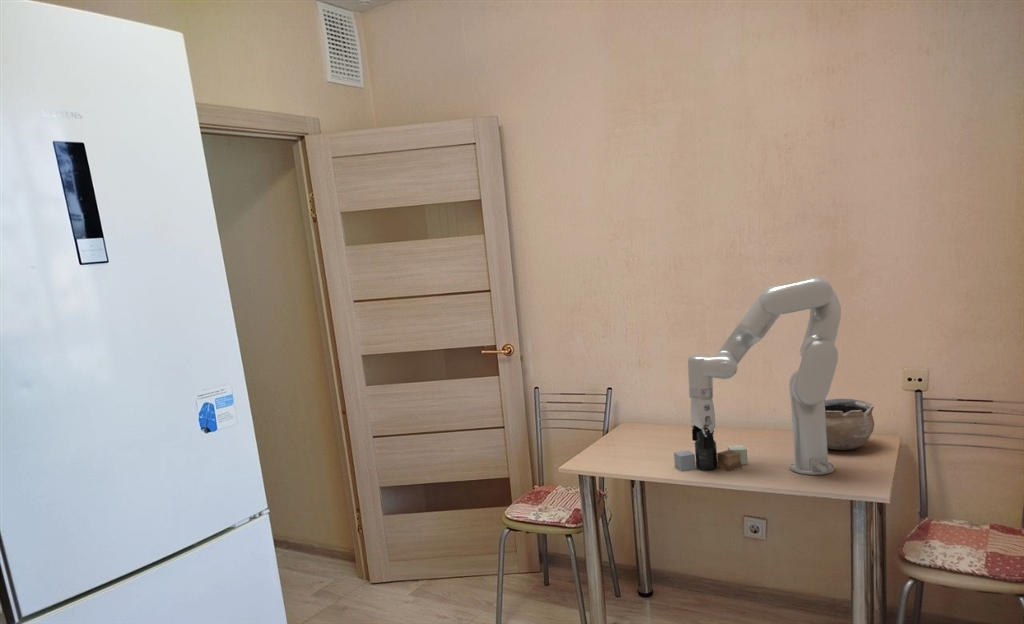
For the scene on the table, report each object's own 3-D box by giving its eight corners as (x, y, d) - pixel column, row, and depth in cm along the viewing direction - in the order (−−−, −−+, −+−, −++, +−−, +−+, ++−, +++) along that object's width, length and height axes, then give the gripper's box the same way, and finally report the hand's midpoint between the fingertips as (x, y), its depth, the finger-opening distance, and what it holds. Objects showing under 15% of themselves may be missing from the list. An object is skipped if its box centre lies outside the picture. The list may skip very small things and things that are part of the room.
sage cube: (747, 464, 210) (746, 449, 210) (732, 465, 211) (731, 450, 210) (743, 459, 215) (742, 445, 215) (728, 460, 216) (727, 446, 215)
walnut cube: (741, 468, 207) (740, 453, 206) (729, 471, 205) (728, 456, 204) (729, 464, 211) (728, 449, 211) (718, 467, 209) (717, 452, 209)
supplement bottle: (722, 468, 208) (719, 432, 207) (705, 472, 205) (702, 435, 205) (708, 463, 214) (706, 428, 213) (691, 467, 212) (689, 431, 211)
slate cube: (695, 469, 210) (694, 454, 209) (681, 471, 209) (680, 456, 209) (689, 465, 215) (688, 450, 214) (674, 467, 214) (673, 452, 213)
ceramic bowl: (835, 460, 206) (833, 414, 205) (790, 444, 227) (787, 402, 226) (891, 449, 212) (889, 405, 211) (841, 435, 233) (839, 394, 232)
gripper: (722, 397, 200) (724, 450, 201) (702, 387, 217) (704, 436, 218) (699, 398, 199) (701, 452, 201) (680, 388, 217) (682, 438, 218)
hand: (702, 444), depth 210 cm, fingers open, 9 cm apart
